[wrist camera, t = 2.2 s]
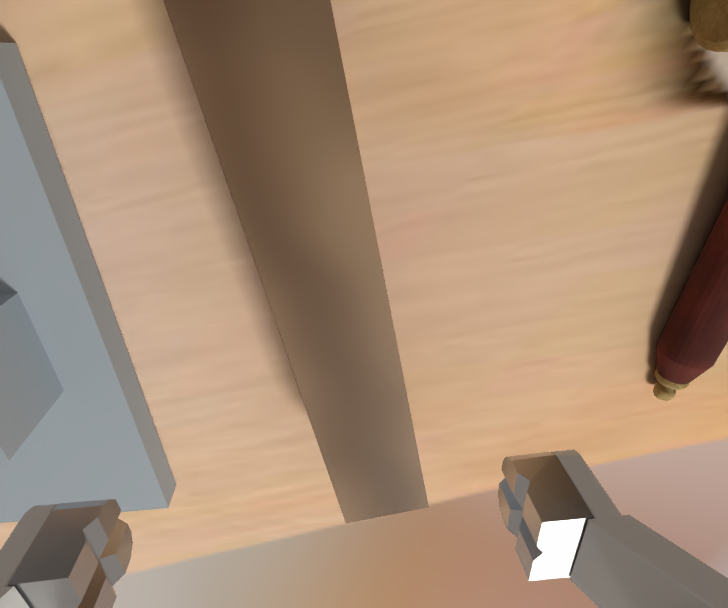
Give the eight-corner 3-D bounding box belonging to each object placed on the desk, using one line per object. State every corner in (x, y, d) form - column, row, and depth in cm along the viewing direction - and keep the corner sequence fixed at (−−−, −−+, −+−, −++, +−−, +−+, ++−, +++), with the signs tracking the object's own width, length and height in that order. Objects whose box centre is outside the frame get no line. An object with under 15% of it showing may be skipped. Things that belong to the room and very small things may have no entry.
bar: (316, -47, 15) (312, -91, 10) (410, 429, 25) (428, 507, 21) (198, -20, 15) (145, -52, 10) (342, 443, 25) (345, 523, 21)
